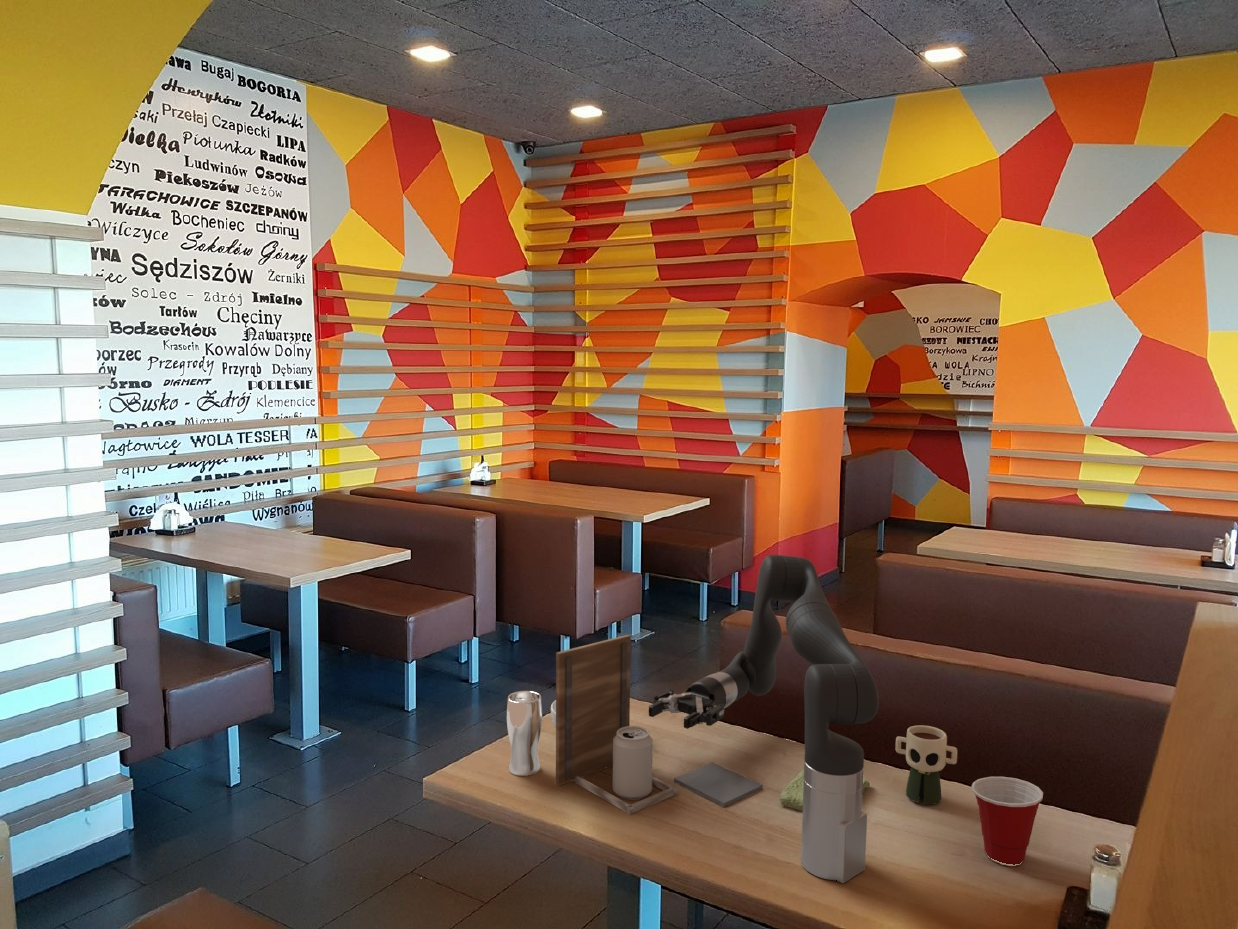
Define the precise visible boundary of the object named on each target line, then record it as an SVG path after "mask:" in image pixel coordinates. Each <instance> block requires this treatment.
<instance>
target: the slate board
mask: <svg viewBox="0 0 1238 929" xmlns="http://www.w3.org/2000/svg"><path fill="white" fill-rule="evenodd" d="M673 783H674V784H677V785H679V786H681V787H683V788H684V789H687V790H689V791H691V792H692V793H695V794H696V795H699V796H700V797H703V798H704V799H707V801H708V800H709V801H710V802H712V803H715V804H716V805H719V806H720V807H723V808H725V807H727V806H730V805H731V804H734V803H735V802H738V801H740V800H742V799H744V798H746V797H749V796H751V795H753V794H755V793H757V792H759V791H761V790H763V789H764V786H763V784H761V783H759V782H757V781H755V780H753V779H751V778H748V777H747V776H744V775H741V774H740V773H738V772H735V771H733V770H731V769H729V768H726V767H724V766H722V765H720V764H718V763H715V762H714V761H711V762H709V763H706V764H704V765H703V766H700V767H698V768H695V769H692V770H690V771H688V772H687V771H686V772H685V773H682V774H680V775H677V776H676V777H673Z"/></svg>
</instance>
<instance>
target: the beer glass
mask: <svg viewBox="0 0 1238 929" xmlns="http://www.w3.org/2000/svg"><path fill="white" fill-rule="evenodd" d="M542 707H543V706H542V695H541V694H540V693H539V692H537V691H532V690H520V691H519V690H518V691H515V692H512V693H509V695H508V696H507V707H506V725H507V726H506V727H507V733H508V740H509V744H510V745H509V746H510V751H511V752H510V754H511V755H510V763H509V767H508V770H509V772H510V773H511V774H512V775H513V776H514V775H515V776H517V777H518V776H519V777H528V775H529V776H533V775H535V774H537V773H538V772H540V769H541V766H540V758H539V744H540V738H541V734H542V733H541V732H542V726H543V725H542V724H543V708H542Z"/></svg>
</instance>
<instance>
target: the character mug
mask: <svg viewBox="0 0 1238 929" xmlns="http://www.w3.org/2000/svg"><path fill="white" fill-rule="evenodd" d="M902 743H906V744H905V748H902ZM947 743H948V736H947V733H946V732H945V731H944V730H942V729H940V728H938V727H934V726H930V725H924V724H923V725H913V726H909V727H908V728H907V731H906V737H905V736H896V737H895V751H896V753H897V754H899V755H905V760H906V763H907V764H908V765H909V766H910V767H911V768H910V769H909V774H908V777H907V778H908V779H907V783H906V789H905V792H906V793H905V794H906V797H907V798H908V799H909V800H911V801H913V802H915V803H919V802H920V801H919V800H920V799H921V800H923V805H935V804H939V803H940V802H941V800H942V786H941V776H940V772H939V771H942V770H943V769H944V768H945V766H946V765H947V764H950V765H956V764H957V762H958V748H957V747H955V746H951V745H948V744H947ZM947 751H948V752H951V754H950V757H947Z"/></svg>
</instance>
